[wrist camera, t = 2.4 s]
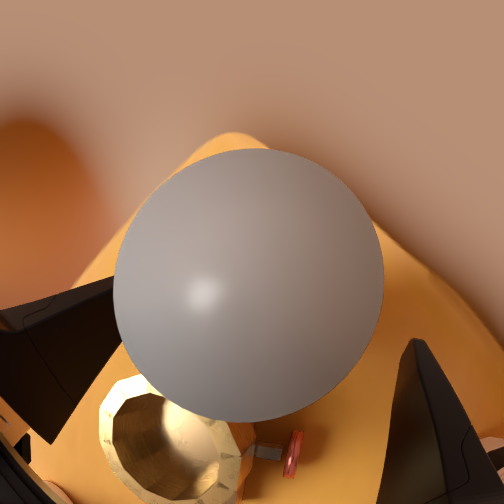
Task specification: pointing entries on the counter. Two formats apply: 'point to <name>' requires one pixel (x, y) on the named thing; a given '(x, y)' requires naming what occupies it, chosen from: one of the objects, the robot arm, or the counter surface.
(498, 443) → the supplement can
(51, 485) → the milk bottle
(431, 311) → the counter surface
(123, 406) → the valve body
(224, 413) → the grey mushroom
